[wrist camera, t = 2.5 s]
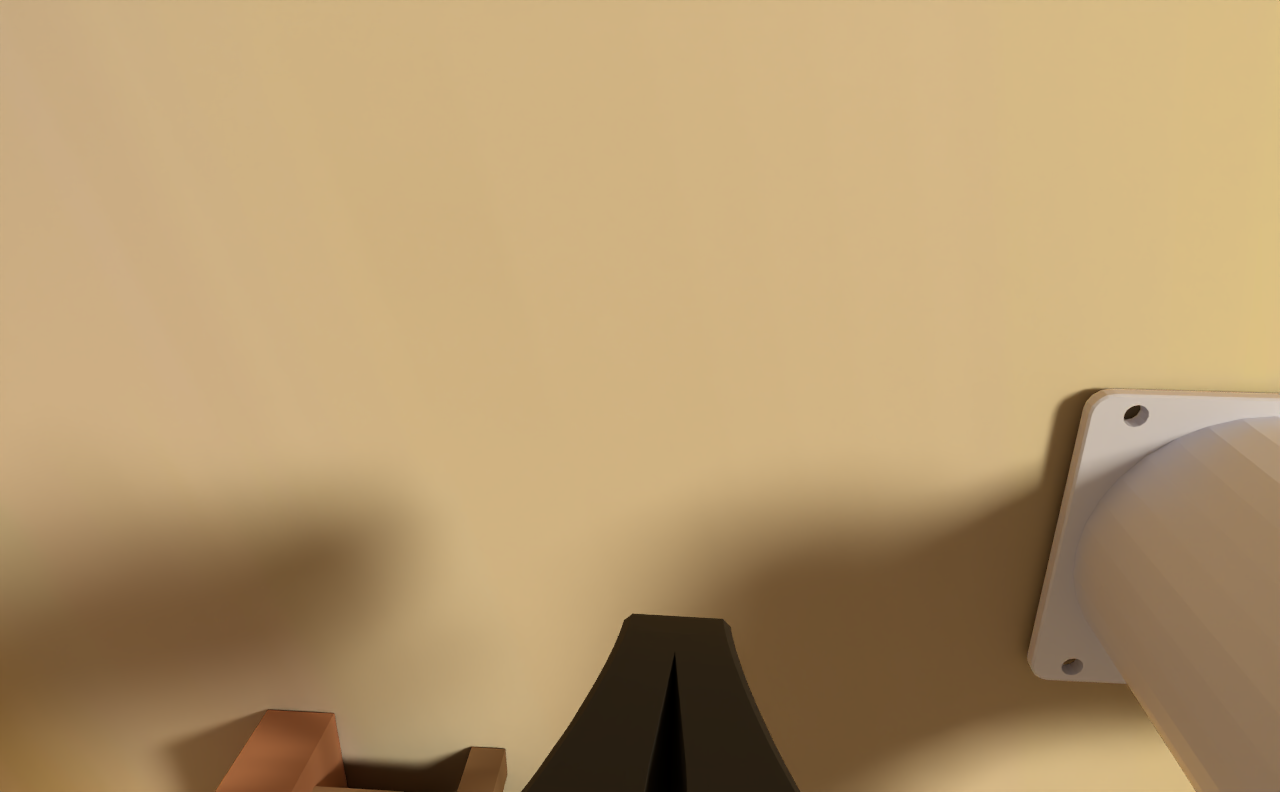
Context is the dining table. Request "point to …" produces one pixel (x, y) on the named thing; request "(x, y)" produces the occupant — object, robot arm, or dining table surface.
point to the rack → (326, 759)
